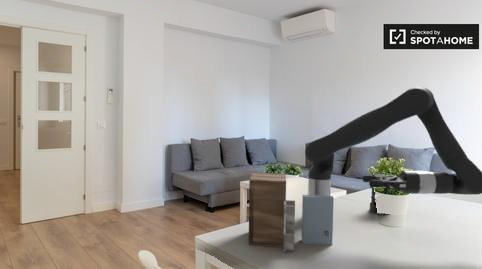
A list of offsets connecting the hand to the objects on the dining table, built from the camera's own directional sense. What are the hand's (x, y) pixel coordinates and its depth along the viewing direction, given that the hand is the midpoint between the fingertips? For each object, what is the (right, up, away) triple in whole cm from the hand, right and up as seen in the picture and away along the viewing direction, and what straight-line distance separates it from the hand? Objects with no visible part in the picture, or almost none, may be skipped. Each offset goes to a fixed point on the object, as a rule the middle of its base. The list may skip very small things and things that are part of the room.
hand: (366, 180), depth 113 cm
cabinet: (-31, -21, +3) cm, 38 cm away
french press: (+22, -20, +42) cm, 52 cm away
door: (-16, -22, +3) cm, 27 cm away
